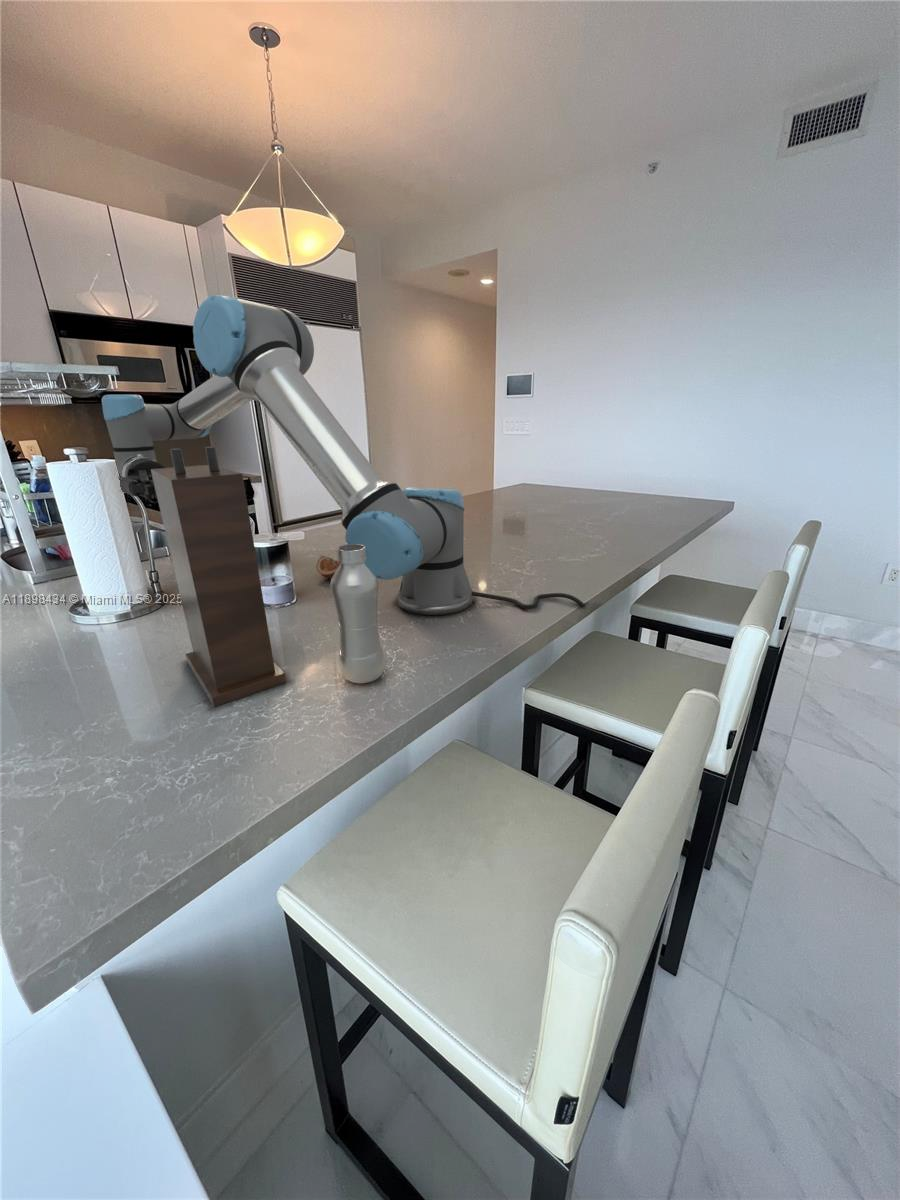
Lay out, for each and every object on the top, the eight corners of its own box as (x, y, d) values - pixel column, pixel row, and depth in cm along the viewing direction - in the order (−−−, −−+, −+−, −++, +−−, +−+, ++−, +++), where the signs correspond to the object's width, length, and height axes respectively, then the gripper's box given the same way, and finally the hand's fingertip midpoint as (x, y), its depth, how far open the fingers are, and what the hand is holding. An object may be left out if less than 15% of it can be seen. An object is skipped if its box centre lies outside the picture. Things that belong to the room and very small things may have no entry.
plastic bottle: (377, 691, 69) (366, 555, 62) (333, 686, 71) (317, 553, 63) (391, 668, 75) (383, 542, 68) (350, 664, 76) (337, 540, 69)
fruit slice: (357, 578, 115) (356, 557, 113) (336, 586, 110) (334, 565, 108) (333, 572, 119) (331, 552, 118) (311, 579, 114) (309, 559, 112)
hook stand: (286, 682, 72) (249, 448, 60) (214, 707, 66) (156, 453, 54) (251, 644, 83) (214, 442, 71) (187, 662, 78) (135, 446, 66)
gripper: (97, 460, 94) (110, 472, 76) (183, 455, 102) (212, 465, 85) (107, 499, 96) (122, 520, 79) (190, 491, 105) (220, 508, 88)
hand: (169, 491), depth 82 cm, fingers closed on hanger bar, 2 cm apart
